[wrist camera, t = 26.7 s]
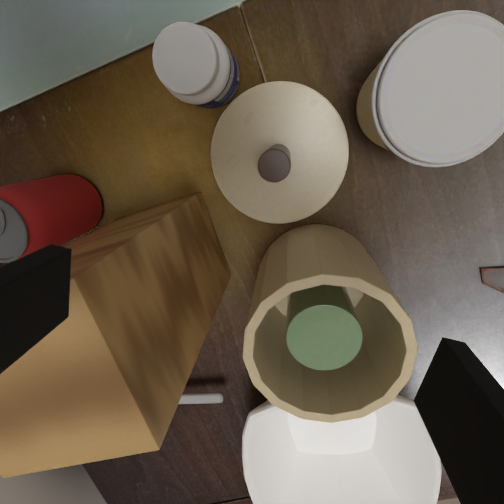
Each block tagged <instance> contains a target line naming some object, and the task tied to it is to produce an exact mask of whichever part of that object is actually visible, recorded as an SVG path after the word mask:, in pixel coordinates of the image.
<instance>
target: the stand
mask: <svg viewBox="0 0 504 504" xmlns="http://www.w3.org/2000/svg"><path fill="white" fill-rule="evenodd" d="M64 247H65V248H69V249H72V252H71V274H70V297H69V317H68V318H67V319H66V320H64V321H63V322H62V323H61V324H60V325H58V326H57V327H56V328H55V329H54V330H52V331H51V332H50V333H49V334H48V335H47V336H45V337H44V338H43V339H42V340H41V341H39V342H38V343H37V344H36V345H35V346H33V347H32V348H31V349H30V350H29V351H27V352H26V353H25V354H24V355H23V356H22V357H20V358H19V359H18V360H17V361H16V362H14V363H13V364H12V365H11V366H10V367H8V368H7V369H6V370H5V371H4V372H2V373H1V374H0V475H1V476H2V478H5V477H11V476H17V475H23V474H28V473H34V472H39V471H45V470H51V469H56V468H62V467H67V466H72V465H78V464H84V463H89V462H95V461H101V460H106V459H112V458H117V457H123V456H128V455H134V454H140V453H145V452H151V451H156V450H159V449H160V447H161V445H162V442H163V440H164V437H165V435H166V433H167V430H168V428H169V425H170V423H171V420H172V418H173V415H174V413H175V411H176V408H177V406H178V403H179V401H180V398H181V396H182V393H183V391H184V389H185V386H186V384H187V381H188V379H189V376H190V374H191V371H192V369H193V367H194V364H195V362H196V359H197V357H198V354H199V352H200V350H201V347H202V345H203V342H204V340H205V337H206V335H207V332H208V330H209V328H210V325H211V323H212V320H213V318H214V315H215V313H216V310H217V308H218V306H219V303H220V301H221V298H222V296H223V293H224V291H225V288H226V286H227V284H228V281H229V279H230V276H231V273H230V271H229V268H228V265H227V262H226V260H225V257H224V254H223V251H222V249H221V246H220V243H219V241H218V238H217V235H216V232H215V230H214V227H213V224H212V221H211V219H210V216H209V213H208V210H207V208H206V205H205V202H204V200H203V197H202V194H201V192H198V193H195V194H192V195H189V196H186V197H183V198H180V199H177V200H173V201H170V202H167V203H164V204H161V205H158V206H155V207H152V208H149V209H146V210H143V211H140V212H136V213H133V214H130V215H127V216H124V217H121V218H118V219H116V220H115V221H113V222H111V223H109V224H107V225H105V226H103V227H101V228H99V229H97V230H95V231H93V232H91V233H89V234H87V235H85V236H83V237H81V238H79V239H77V240H75V241H73V242H71V243H69V244H67V245H65V246H64Z"/></svg>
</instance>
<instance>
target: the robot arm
mask: <svg viewBox="0 0 504 504" xmlns="http://www.w3.org/2000/svg"><path fill="white" fill-rule="evenodd" d="M71 252H72V249H69V248H65V247H61V246H57V245H53V244H50V245H47V246H45V247H43V248H41V249H39V250H37V251H35V252H33V253H31V254H28V255H26V256H24V257H22V258H20V259H18V260H16V261H14V262H11V263H9V264H7V265H5V266H3V267H1V268H0V374H1V373H2V372H4V371H5V370H6V369H7V368H8V367H10V366H11V365H12V364H13V363H14V362H16V361H17V360H18V359H19V358H20V357H22V356H23V355H24V354H25V353H26V352H27V351H29V350H30V349H31V348H32V347H33V346H35V345H36V344H37V343H38V342H39V341H41V340H42V339H43V338H44V337H45V336H47V335H48V334H49V333H50V332H51V331H52V330H54V329H55V328H56V327H57V326H58V325H60V324H61V323H62V322H63V321H64V320H66V319H67V318H68V317H69V297H70V274H71ZM414 403H415V405H416V407H417V409H418V412H419V414H420V416H421V418H422V420H423V422H424V425H425V427H426V429H427V431H428V433H429V436H430V438H431V440H432V442H433V444H434V446H435V449H436V451H437V453H438V455H439V457H440V460H441V462H442V464H443V466H444V468H445V470H446V473H447V475H448V477H449V479H450V481H451V484H452V486H453V488H454V490H455V492H456V494H457V497H458V499H459V501H460V503H461V504H504V389H503V388H502V387H501V386H500V385H499V383H498V382H497V381H496V380H495V378H494V377H493V376H492V375H491V374H490V372H489V371H488V370H487V369H486V368H485V366H484V365H483V364H482V363H481V362H480V360H479V359H478V358H477V357H476V356H475V354H474V353H473V352H472V351H471V349H470V348H469V347H468V346H467V345H466V343H464V342H460V341H456V340H452V339H447V338H443V337H442V340H441V342H440V344H439V346H438V348H437V351H436V353H435V355H434V357H433V359H432V362H431V364H430V366H429V368H428V370H427V373H426V375H425V377H424V379H423V381H422V384H421V386H420V388H419V390H418V392H417V395H416V397H415V399H414Z"/></svg>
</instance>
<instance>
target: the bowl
mask: <svg viewBox="0 0 504 504" xmlns="http://www.w3.org/2000/svg"><path fill="white" fill-rule="evenodd" d="M242 461H243V471H244V478H245V481H246V484H247V488H248V491H249V494H250V497H251V499H252V501H253V504H437V500H438V496H439V491H440V483H441V475H442V469H441V460H440V457H439V455H438V453H437V451H436V449H435V446H434V444H433V442H432V440H431V438H430V436H429V433H428V431H427V429H426V427H425V425H424V422H423V420H422V418H421V416H420V414H419V412H418V409H417V407H416V405H415V403H414V401H413V400H410V399H408V398H406V397H403V396H401V395H397V396H396V397H395V398H394V399H393V401H392V402H390V403H389V404H387V405H385V406H383V407H381V408H379V409H378V410H376V411H374V412H372V413H370V414H369V415H367V416H365V417H362V418H357V419H351V420H345V421H340V422H334V423H328V422H321V421H313V420H306V419H301V418H298V417H296V416H294V415H292V414H290V413H288V412H286V411H284V410H282V409H280V408H278V407H276V406H274V405H272V404H271V403H270V402H269V401H268V400H267V401H266V402H264V403H263V404H261V405H260V406H258V407H256V408H255V409H253V410H252V411H250V412H249V414H248V416H247V420H246V423H245V426H244V430H243V433H242Z"/></svg>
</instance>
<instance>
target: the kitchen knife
mask: <svg viewBox="0 0 504 504" xmlns="http://www.w3.org/2000/svg"><path fill="white" fill-rule="evenodd" d="M481 274H482V281H483V284H485V285H487V286H489V287H492V288H494V289H496V290H498V291H501V292H503V293H504V267H498V268H481Z"/></svg>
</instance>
